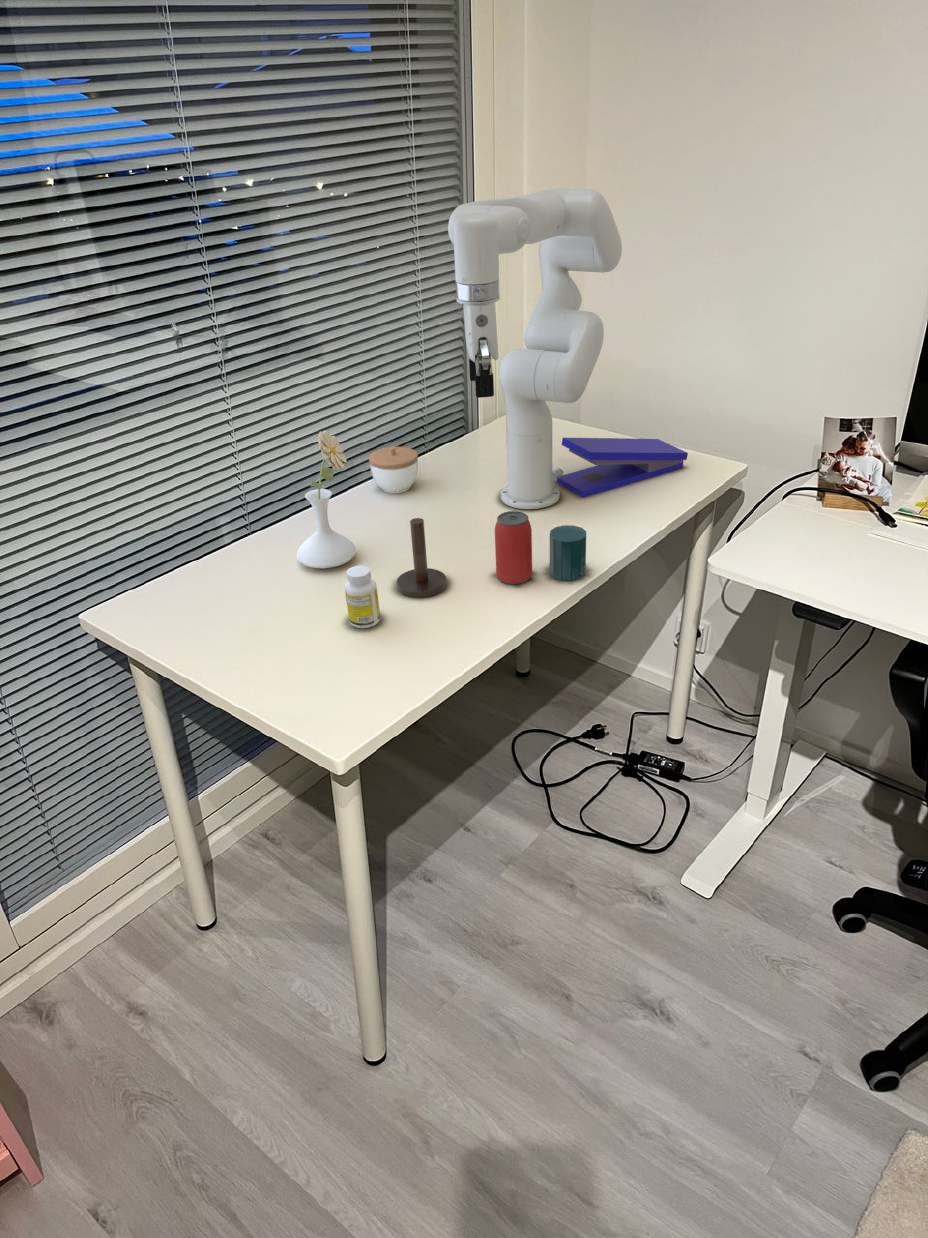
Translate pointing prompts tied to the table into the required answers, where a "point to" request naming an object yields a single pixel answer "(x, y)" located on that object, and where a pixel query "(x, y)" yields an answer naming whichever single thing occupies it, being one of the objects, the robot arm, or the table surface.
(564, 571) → the teal wooden cylinder
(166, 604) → the table surface
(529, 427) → the robot arm
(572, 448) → the stapler
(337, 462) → the flower in vase
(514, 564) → the beer can
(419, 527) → the holder
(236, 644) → the table surface
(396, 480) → the trinket box
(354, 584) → the supplement bottle
